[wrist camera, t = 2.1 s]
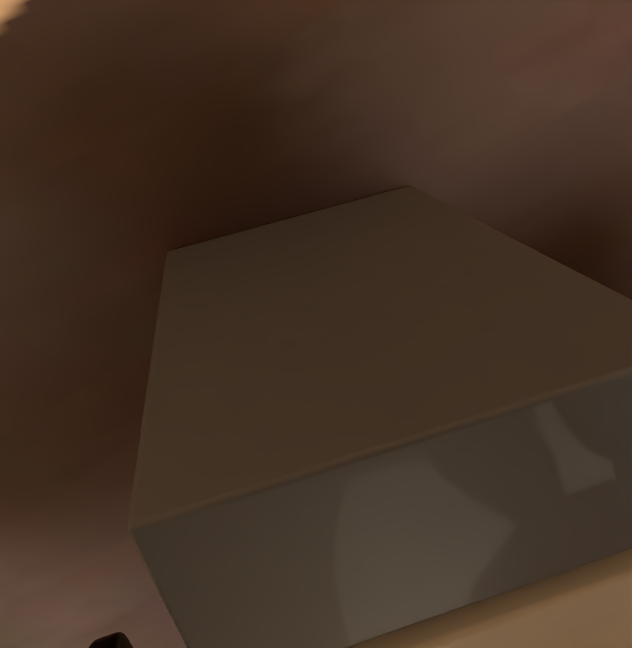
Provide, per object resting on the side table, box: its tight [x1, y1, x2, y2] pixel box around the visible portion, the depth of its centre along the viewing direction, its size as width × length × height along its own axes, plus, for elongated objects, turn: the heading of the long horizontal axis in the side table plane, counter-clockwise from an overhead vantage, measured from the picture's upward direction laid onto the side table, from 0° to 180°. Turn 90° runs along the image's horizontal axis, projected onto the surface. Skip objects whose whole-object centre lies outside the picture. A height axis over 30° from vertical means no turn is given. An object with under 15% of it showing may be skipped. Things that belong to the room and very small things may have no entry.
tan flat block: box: [346, 549, 632, 648], centre depth 10 cm, size 6×2×8 cm, turn 102°
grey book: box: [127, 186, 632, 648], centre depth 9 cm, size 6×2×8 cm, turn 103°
